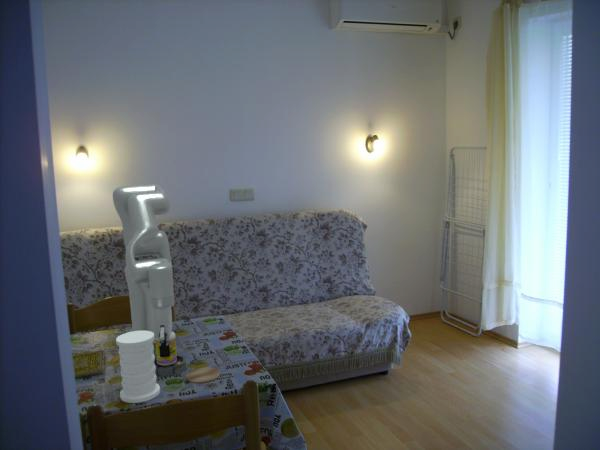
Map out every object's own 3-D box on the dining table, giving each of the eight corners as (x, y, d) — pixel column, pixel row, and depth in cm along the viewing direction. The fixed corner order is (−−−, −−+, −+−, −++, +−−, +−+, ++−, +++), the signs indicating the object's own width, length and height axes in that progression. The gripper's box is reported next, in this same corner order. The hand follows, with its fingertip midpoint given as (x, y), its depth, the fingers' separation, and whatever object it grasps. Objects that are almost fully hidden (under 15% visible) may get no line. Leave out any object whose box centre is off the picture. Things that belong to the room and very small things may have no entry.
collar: (141, 370, 179) (140, 361, 179) (170, 358, 189) (170, 349, 188) (165, 379, 172) (164, 369, 171) (194, 365, 181) (194, 356, 181)
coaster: (178, 378, 172) (178, 376, 172) (204, 366, 180) (204, 364, 180) (202, 386, 165) (202, 384, 165) (227, 373, 174) (227, 371, 174)
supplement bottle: (160, 368, 176) (157, 331, 174) (154, 361, 182) (151, 325, 180) (180, 363, 180) (177, 326, 178) (173, 356, 185) (170, 321, 183)
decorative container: (126, 386, 167) (120, 331, 165) (163, 384, 168) (159, 329, 165) (115, 404, 156) (109, 344, 153) (155, 401, 156) (150, 342, 154)
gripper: (154, 294, 185) (158, 343, 188) (147, 310, 168) (151, 363, 171) (176, 292, 186) (179, 341, 189) (171, 308, 169) (175, 361, 172)
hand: (166, 351), depth 180 cm, fingers closed on supplement bottle, 6 cm apart
